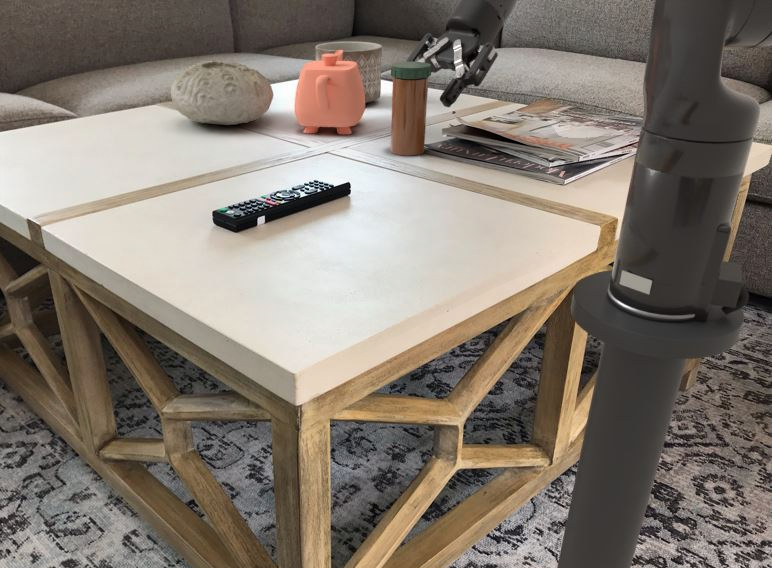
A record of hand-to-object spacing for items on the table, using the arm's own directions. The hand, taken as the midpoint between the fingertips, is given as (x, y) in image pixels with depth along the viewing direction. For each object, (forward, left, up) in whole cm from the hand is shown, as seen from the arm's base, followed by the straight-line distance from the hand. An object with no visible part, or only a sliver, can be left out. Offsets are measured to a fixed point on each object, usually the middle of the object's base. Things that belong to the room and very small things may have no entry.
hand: (423, 98), depth 112 cm
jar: (+1, +3, -7) cm, 8 cm away
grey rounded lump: (+37, -3, -8) cm, 38 cm away
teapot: (+18, -7, -8) cm, 21 cm away
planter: (+23, -27, -8) cm, 37 cm away
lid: (+1, +3, +5) cm, 6 cm away
